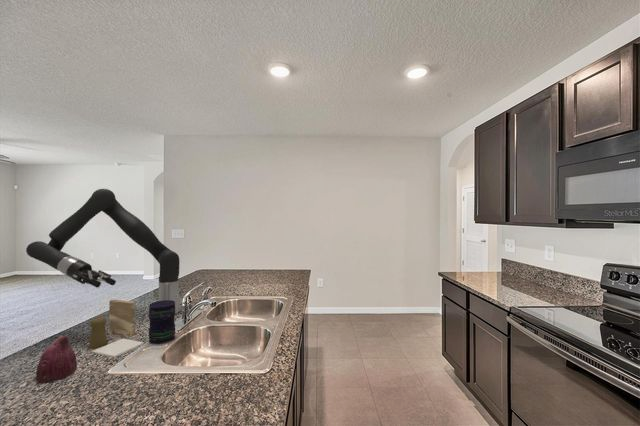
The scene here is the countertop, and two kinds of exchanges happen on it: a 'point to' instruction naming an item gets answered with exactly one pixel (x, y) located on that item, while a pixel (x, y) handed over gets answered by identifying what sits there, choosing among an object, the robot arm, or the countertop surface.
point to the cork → (98, 333)
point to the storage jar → (162, 321)
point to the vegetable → (56, 361)
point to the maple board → (122, 317)
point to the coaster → (118, 347)
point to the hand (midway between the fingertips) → (107, 284)
